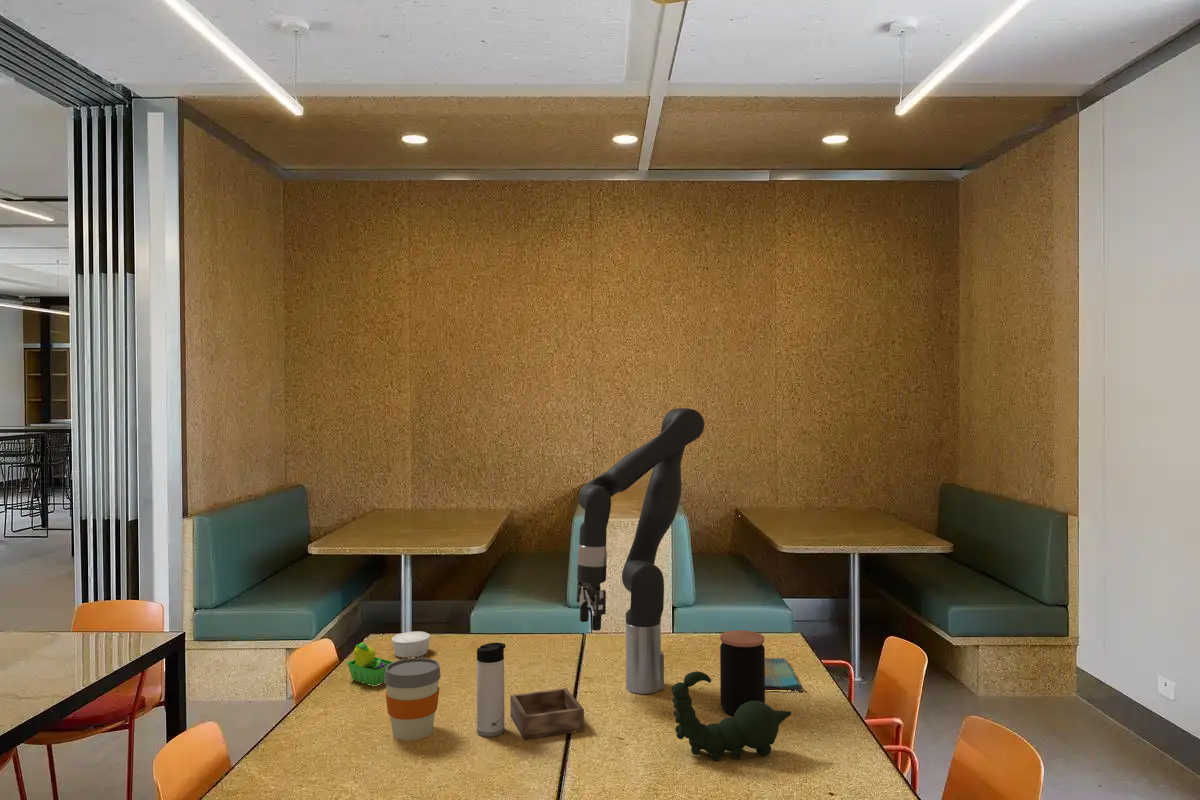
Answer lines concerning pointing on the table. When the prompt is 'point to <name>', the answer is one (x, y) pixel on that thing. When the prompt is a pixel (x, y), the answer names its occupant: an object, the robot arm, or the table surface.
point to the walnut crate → (546, 713)
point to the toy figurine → (725, 724)
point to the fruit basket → (367, 665)
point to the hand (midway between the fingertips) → (590, 625)
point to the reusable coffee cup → (412, 696)
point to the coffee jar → (741, 669)
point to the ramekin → (411, 644)
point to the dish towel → (780, 675)
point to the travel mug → (490, 689)
